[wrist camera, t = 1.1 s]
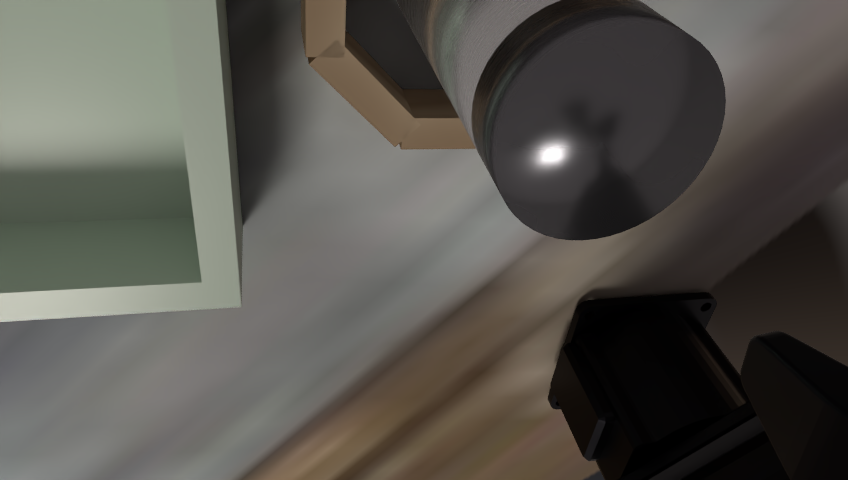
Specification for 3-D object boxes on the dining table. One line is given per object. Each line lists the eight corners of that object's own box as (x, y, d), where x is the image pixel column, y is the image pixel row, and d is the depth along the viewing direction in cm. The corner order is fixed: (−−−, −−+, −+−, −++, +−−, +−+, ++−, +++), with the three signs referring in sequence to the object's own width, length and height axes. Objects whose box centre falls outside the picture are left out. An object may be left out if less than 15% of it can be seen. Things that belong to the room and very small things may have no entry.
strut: (542, -100, 18) (763, 26, 10) (515, 43, 20) (679, 235, 13) (398, -111, 17) (520, 18, 9) (387, 40, 20) (478, 245, 12)
